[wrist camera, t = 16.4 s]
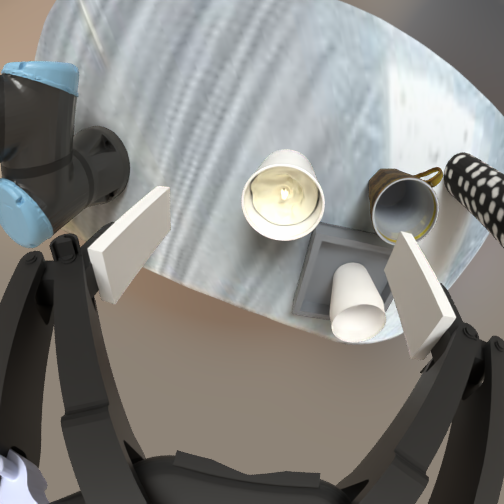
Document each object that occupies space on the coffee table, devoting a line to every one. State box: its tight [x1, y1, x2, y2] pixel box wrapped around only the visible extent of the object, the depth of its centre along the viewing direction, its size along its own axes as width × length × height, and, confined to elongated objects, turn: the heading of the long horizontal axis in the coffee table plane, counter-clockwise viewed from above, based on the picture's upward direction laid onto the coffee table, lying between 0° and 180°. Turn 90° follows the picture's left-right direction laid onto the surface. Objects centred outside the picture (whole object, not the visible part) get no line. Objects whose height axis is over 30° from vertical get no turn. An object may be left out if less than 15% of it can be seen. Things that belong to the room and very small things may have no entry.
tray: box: [292, 222, 395, 320], centre depth 48 cm, size 18×18×4 cm
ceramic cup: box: [369, 167, 443, 245], centre depth 35 cm, size 13×10×10 cm
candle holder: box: [241, 149, 325, 241], centre depth 37 cm, size 10×10×12 cm
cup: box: [330, 263, 386, 342], centre depth 44 cm, size 9×9×12 cm
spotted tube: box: [444, 153, 504, 248], centre depth 27 cm, size 8×8×20 cm
